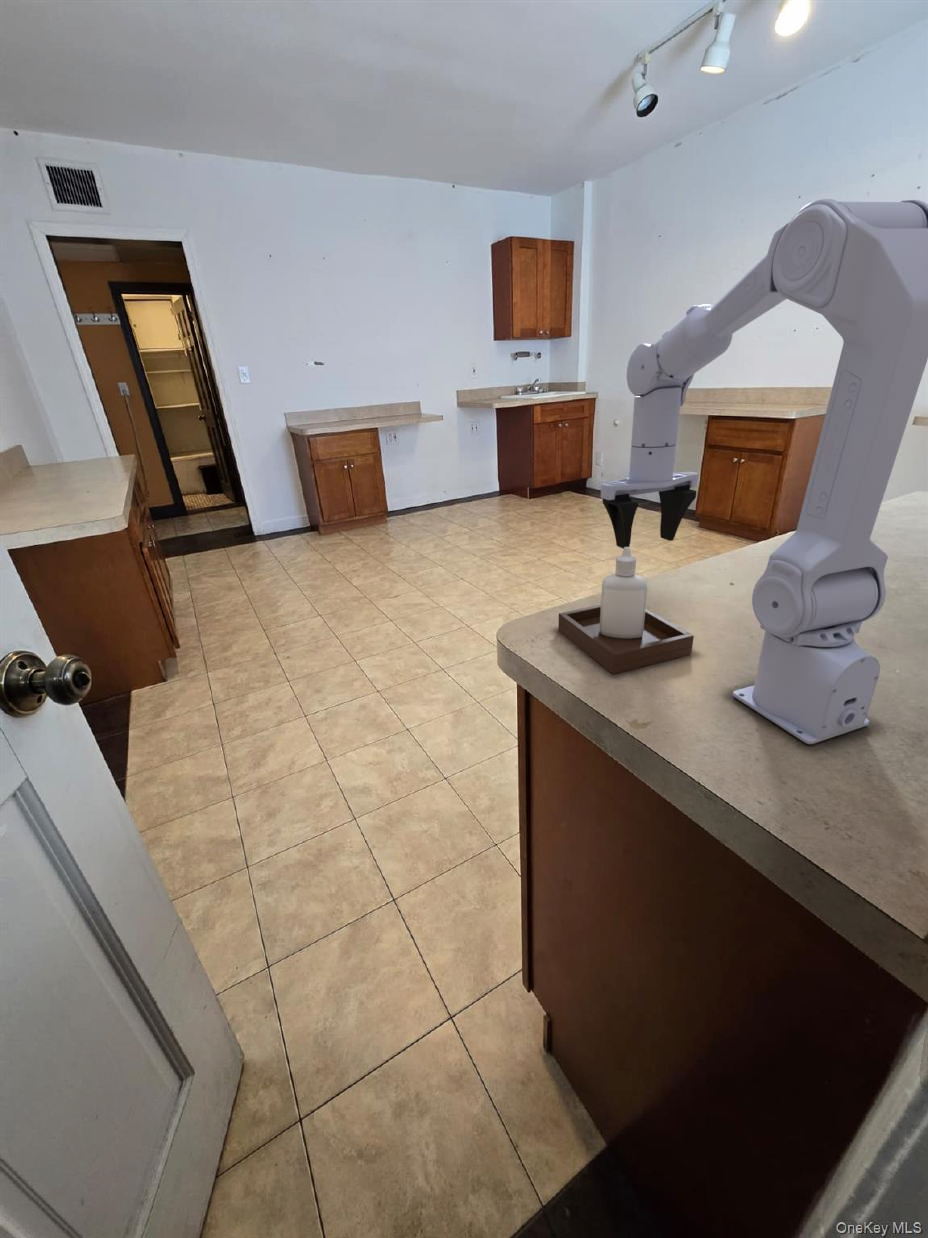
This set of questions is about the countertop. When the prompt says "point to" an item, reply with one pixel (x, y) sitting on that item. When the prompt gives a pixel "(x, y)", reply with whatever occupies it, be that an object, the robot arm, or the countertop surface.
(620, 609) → the eye dropper bottle
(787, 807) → the countertop surface
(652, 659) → the tray
